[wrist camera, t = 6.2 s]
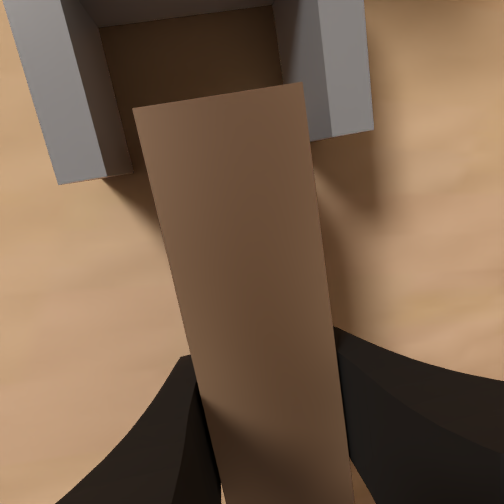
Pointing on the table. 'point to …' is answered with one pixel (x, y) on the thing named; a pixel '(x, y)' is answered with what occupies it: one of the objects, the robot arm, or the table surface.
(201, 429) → the robot arm
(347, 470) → the slat
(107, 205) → the table surface
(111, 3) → the cap
